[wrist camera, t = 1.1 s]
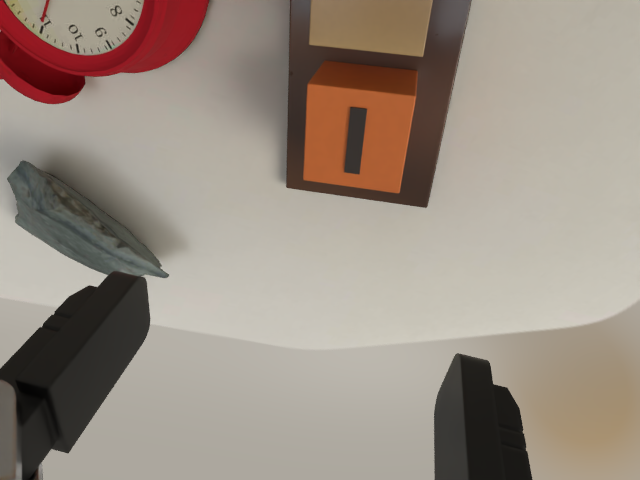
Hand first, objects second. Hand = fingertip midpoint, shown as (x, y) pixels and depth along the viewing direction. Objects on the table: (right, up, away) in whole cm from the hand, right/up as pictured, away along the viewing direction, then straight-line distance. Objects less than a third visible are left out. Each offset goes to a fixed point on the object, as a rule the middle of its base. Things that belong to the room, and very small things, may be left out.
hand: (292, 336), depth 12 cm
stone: (-15, +4, +20) cm, 25 cm away
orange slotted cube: (+3, +9, +12) cm, 15 cm away
